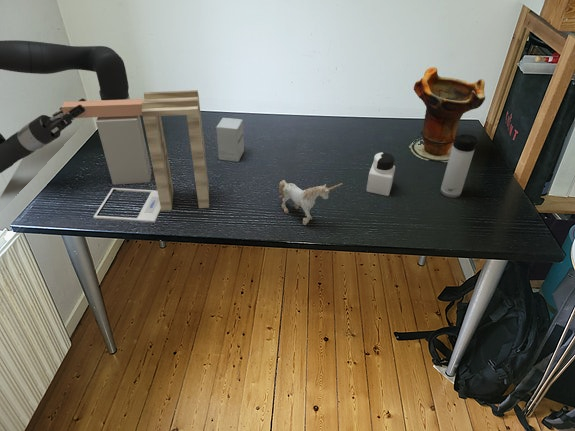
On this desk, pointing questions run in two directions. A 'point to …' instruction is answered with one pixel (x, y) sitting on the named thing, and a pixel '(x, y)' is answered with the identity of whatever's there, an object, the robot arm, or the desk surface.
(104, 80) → the robot arm
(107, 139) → the post
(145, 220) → the photo frame
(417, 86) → the decorative vase
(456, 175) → the travel mug
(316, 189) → the unicorn figurine
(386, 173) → the medicine bottle
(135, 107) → the bar
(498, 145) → the desk surface
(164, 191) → the bridge
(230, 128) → the supplement box
